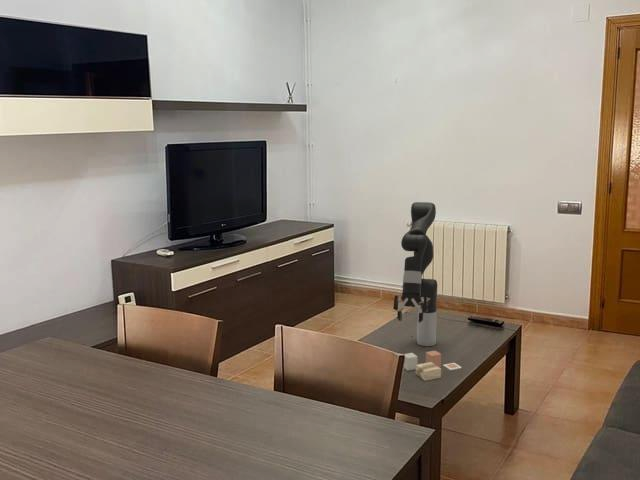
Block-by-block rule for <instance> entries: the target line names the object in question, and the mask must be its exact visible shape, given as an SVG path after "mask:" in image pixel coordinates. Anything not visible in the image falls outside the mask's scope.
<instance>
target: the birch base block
mask: <svg viewBox="0 0 640 480" xmlns="http://www.w3.org/2000/svg"><path fill="white" fill-rule="evenodd" d="M415 375H417V376H418V377H419V378H420V379H422V380H423V381H430V380H437V379H441V378H442V368H441V367H438V366H437V365H435V364H434V363H432V362H429V363H426V362H424V363H418V364H417V365H416V369H415Z"/></svg>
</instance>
